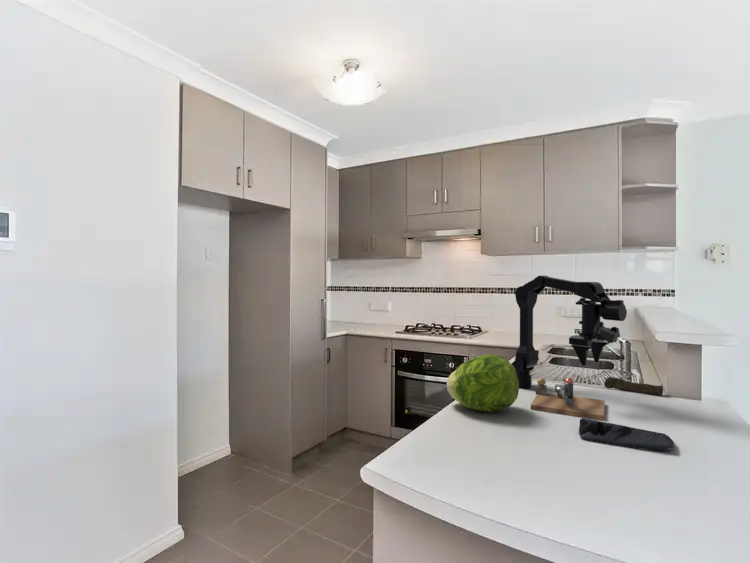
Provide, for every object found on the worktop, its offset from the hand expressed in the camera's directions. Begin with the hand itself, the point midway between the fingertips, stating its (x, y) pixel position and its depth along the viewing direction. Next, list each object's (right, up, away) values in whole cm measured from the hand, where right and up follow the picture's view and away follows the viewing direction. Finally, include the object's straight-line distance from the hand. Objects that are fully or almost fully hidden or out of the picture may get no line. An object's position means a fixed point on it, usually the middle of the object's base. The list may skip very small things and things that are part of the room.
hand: (590, 363), depth 144 cm
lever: (-10, -11, -3) cm, 15 cm away
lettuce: (-39, -14, -7) cm, 42 cm away
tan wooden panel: (-10, -14, -4) cm, 17 cm away
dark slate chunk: (-7, -15, -31) cm, 35 cm away
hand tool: (+24, -14, +15) cm, 32 cm away
